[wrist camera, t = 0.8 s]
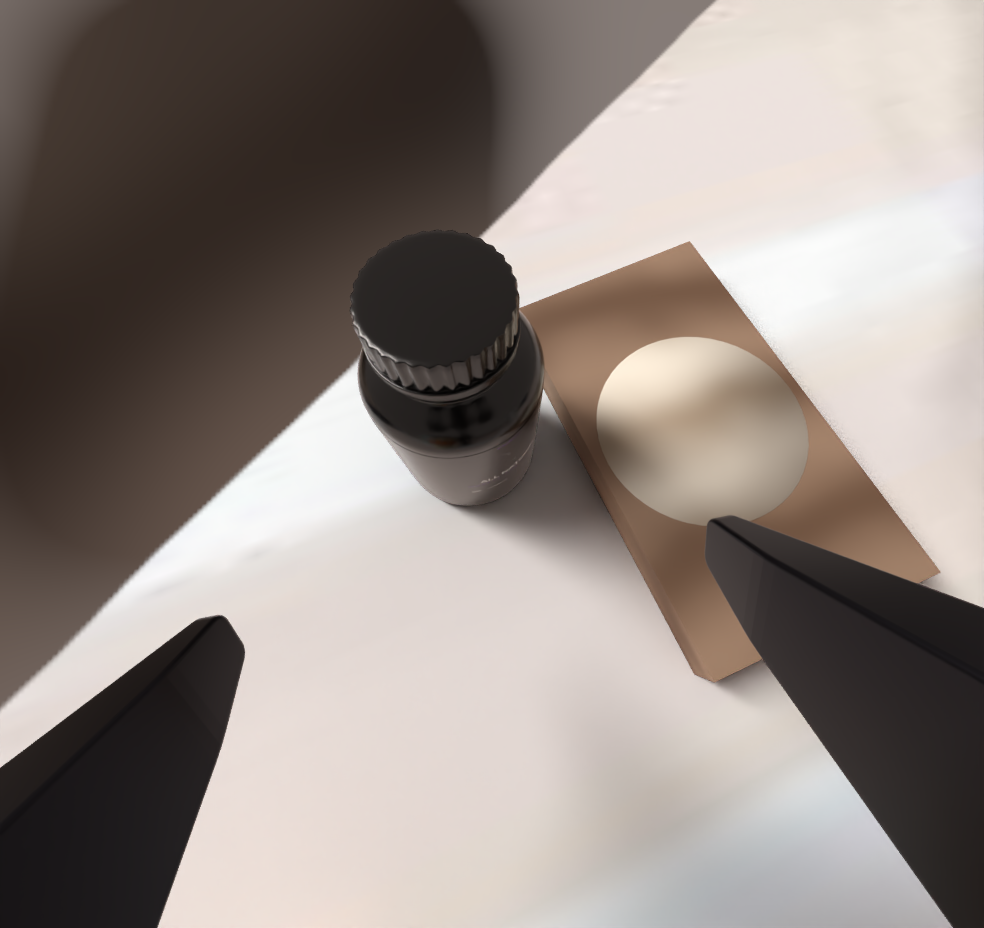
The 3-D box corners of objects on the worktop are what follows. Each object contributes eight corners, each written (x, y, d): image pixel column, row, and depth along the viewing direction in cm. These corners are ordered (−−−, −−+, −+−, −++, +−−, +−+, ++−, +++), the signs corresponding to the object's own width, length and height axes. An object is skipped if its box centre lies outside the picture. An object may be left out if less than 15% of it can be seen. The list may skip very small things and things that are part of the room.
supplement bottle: (518, 522, 21) (523, 434, 10) (393, 492, 22) (267, 380, 11) (546, 403, 23) (576, 218, 12) (430, 380, 24) (356, 186, 13)
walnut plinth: (899, 574, 20) (940, 572, 18) (694, 674, 19) (714, 682, 17) (676, 267, 26) (689, 240, 24) (513, 332, 25) (513, 310, 23)
